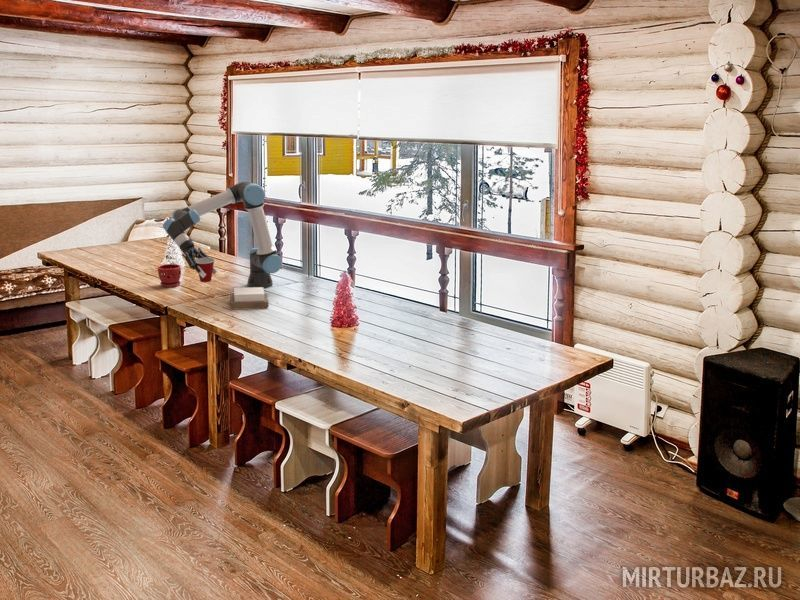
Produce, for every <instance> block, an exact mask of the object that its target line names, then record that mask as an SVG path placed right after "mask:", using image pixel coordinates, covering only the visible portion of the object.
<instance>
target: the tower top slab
mask: <svg viewBox="0 0 800 600" xmlns="http://www.w3.org/2000/svg"><path fill="white" fill-rule="evenodd" d="M264 293H265V290H264V287H250V286H249V287H234V288H233V294H234V300H235V302H250V301H264Z"/></svg>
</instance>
